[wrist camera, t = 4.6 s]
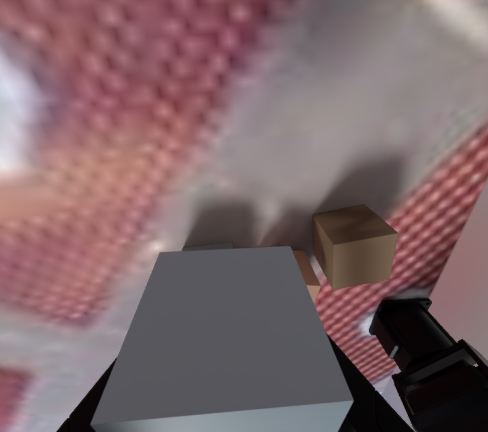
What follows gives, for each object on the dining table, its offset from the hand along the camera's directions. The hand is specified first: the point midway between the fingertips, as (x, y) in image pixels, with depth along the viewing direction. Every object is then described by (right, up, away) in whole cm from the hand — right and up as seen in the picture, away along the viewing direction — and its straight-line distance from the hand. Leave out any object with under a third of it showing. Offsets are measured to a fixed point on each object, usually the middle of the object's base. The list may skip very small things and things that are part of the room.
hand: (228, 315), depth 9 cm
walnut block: (+10, +3, +14) cm, 17 cm away
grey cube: (0, +1, +1) cm, 1 cm away
